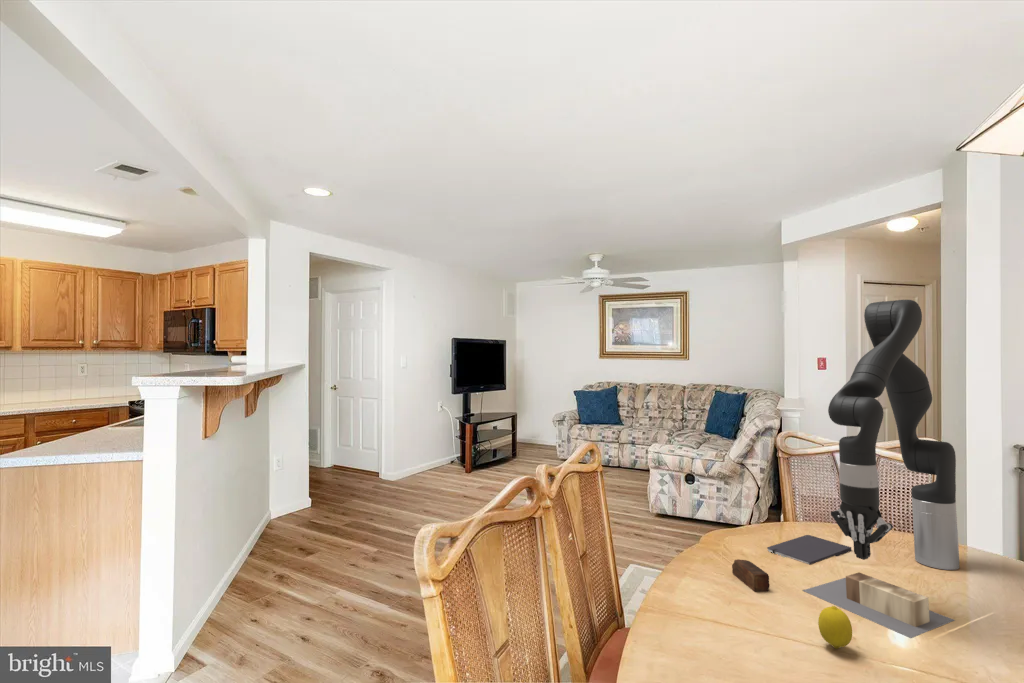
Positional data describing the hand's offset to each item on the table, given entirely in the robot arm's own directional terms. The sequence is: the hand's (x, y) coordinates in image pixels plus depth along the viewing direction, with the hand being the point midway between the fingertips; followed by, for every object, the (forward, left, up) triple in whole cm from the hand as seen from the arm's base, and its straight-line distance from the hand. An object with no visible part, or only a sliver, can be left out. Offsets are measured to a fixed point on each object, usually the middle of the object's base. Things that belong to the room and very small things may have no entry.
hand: (862, 558), depth 114 cm
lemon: (+24, +9, -10) cm, 28 cm away
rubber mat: (0, +2, -10) cm, 10 cm away
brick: (+15, -18, -10) cm, 26 cm away
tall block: (0, -2, -7) cm, 7 cm away
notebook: (-18, -26, -11) cm, 33 cm away
